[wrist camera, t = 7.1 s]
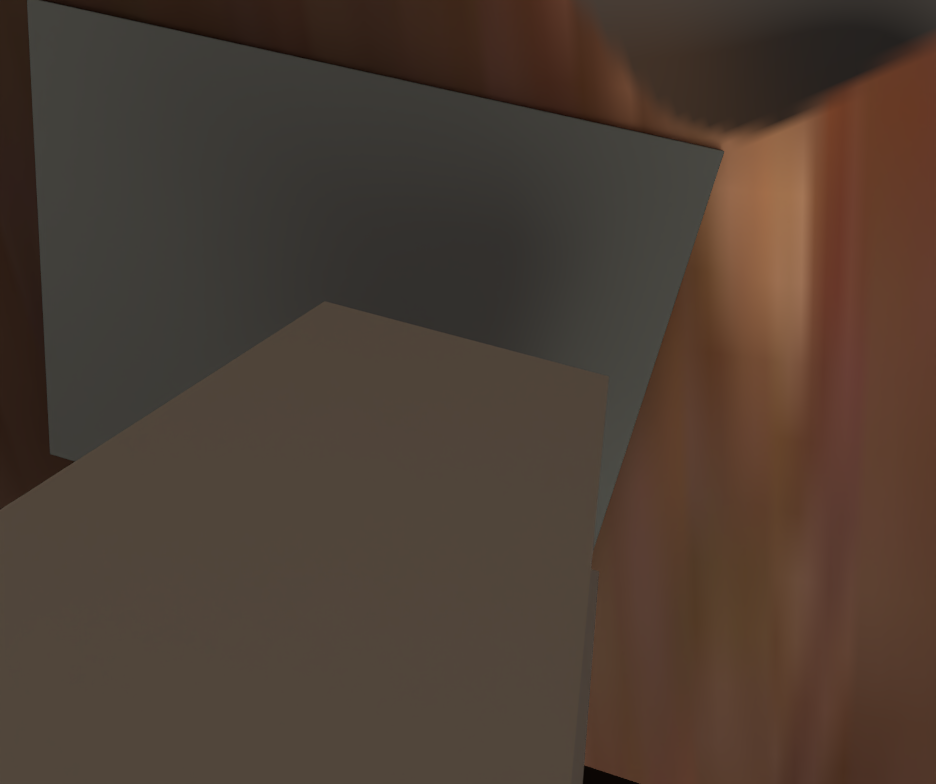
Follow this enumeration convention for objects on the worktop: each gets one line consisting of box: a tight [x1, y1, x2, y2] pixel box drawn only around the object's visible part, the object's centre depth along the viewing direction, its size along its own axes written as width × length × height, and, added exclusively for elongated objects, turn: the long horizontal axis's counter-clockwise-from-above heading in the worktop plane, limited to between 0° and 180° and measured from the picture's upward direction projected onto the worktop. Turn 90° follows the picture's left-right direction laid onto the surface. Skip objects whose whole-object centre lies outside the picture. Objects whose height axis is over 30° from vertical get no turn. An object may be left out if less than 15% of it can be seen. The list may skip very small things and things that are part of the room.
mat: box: [27, 0, 724, 549], centre depth 24 cm, size 21×16×1 cm
